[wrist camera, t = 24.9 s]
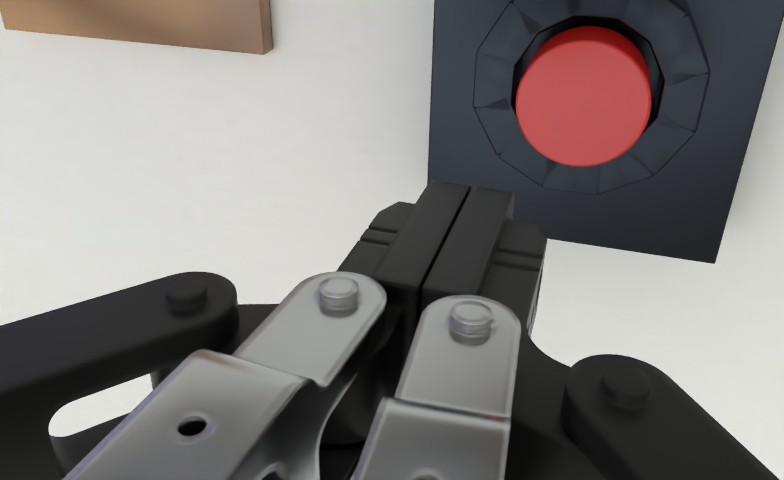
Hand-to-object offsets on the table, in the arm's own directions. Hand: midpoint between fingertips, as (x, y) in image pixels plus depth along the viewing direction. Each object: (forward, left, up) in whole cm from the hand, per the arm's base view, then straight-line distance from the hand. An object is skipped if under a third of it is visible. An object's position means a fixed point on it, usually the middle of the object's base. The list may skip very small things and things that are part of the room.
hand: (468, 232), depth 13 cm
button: (0, +1, -10) cm, 10 cm away
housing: (0, +1, -14) cm, 14 cm away
